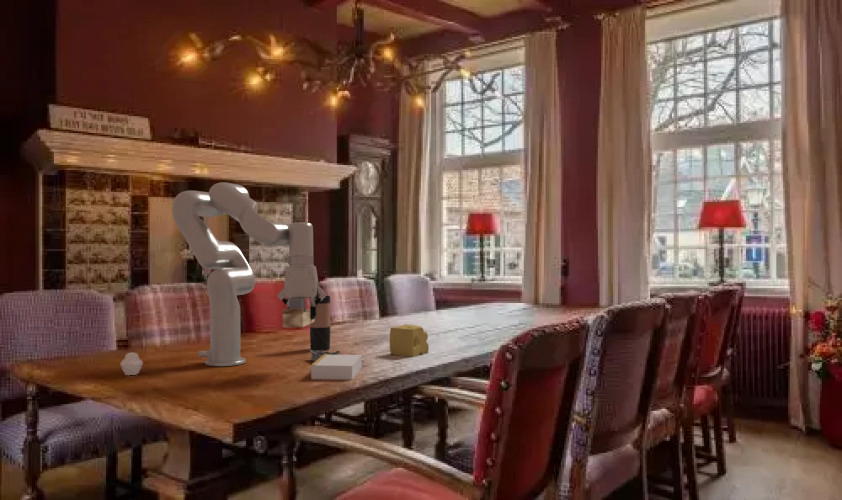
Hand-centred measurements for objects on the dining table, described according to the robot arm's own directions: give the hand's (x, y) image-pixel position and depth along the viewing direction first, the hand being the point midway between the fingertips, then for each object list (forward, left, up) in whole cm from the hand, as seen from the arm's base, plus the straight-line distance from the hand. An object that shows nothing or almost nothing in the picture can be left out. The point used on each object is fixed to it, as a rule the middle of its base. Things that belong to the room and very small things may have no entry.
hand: (302, 318), depth 203 cm
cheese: (+31, +32, -16) cm, 48 cm away
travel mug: (-3, +40, -16) cm, 43 cm away
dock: (+12, -5, -16) cm, 21 cm away
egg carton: (+4, +16, -16) cm, 23 cm away
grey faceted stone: (-49, -12, -16) cm, 53 cm away
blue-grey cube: (0, -4, +3) cm, 5 cm away
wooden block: (0, -4, -1) cm, 4 cm away
